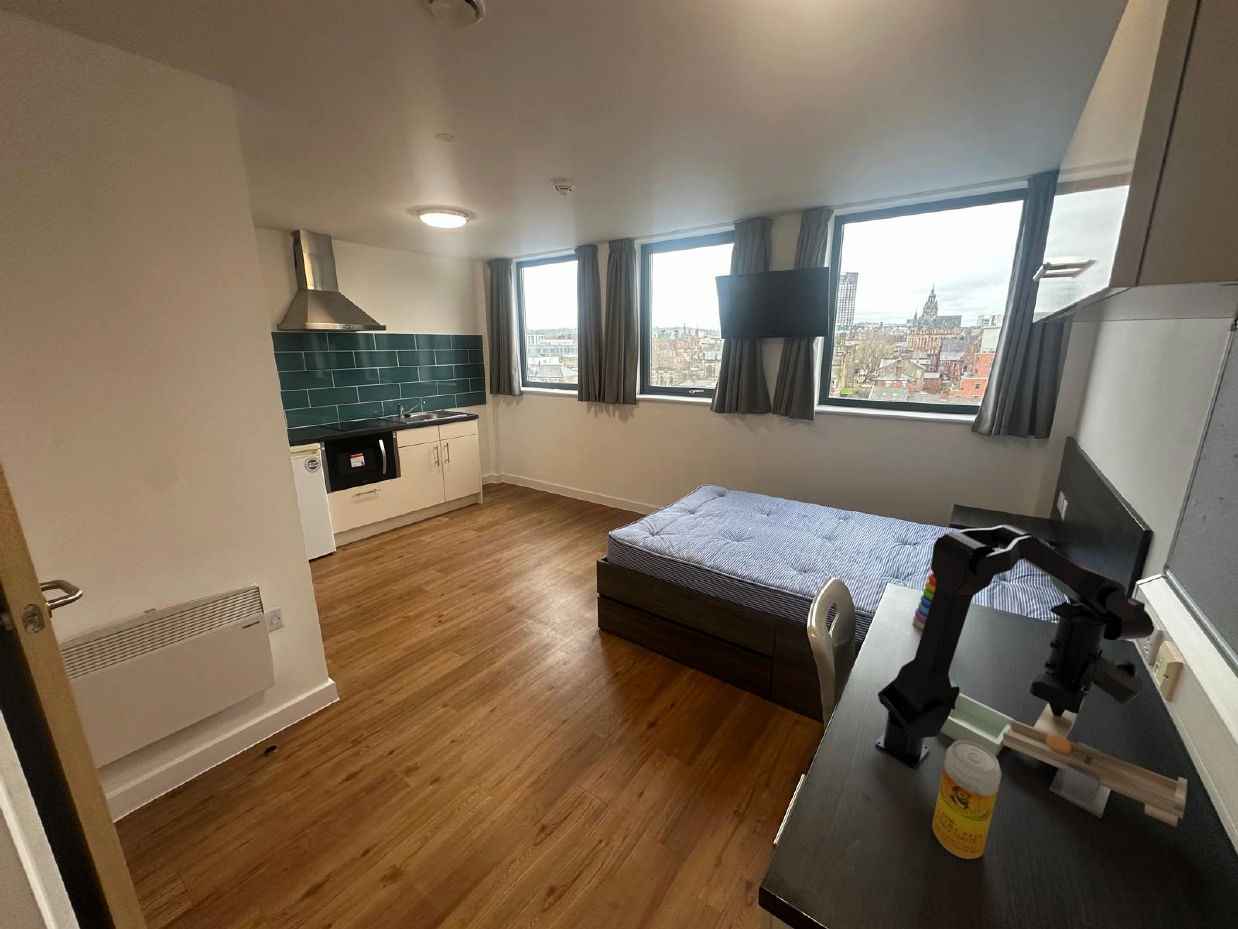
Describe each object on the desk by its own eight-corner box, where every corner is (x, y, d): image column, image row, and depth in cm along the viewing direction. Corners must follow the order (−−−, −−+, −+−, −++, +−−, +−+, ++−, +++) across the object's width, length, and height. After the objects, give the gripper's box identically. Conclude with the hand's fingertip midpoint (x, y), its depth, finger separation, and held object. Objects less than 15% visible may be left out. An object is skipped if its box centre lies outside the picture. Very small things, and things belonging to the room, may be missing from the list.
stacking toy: (949, 640, 115) (962, 569, 110) (910, 628, 120) (922, 559, 115) (951, 625, 121) (964, 557, 116) (914, 614, 126) (925, 548, 121)
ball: (1073, 754, 76) (1054, 736, 77) (1057, 761, 77) (1038, 743, 79) (1078, 745, 77) (1059, 727, 79) (1061, 751, 79) (1044, 734, 81)
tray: (993, 761, 82) (997, 744, 81) (935, 728, 89) (938, 712, 88) (1010, 735, 87) (1014, 719, 86) (953, 706, 94) (956, 691, 93)
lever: (1181, 830, 66) (1183, 801, 66) (1002, 754, 82) (1002, 729, 82) (1192, 766, 76) (1194, 740, 76) (1030, 709, 92) (1031, 687, 92)
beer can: (926, 840, 69) (943, 755, 65) (937, 812, 73) (953, 731, 69) (977, 873, 65) (998, 784, 61) (986, 841, 69) (1006, 755, 65)
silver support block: (1100, 818, 72) (1110, 788, 71) (1049, 789, 77) (1056, 761, 75) (1111, 788, 77) (1119, 760, 75) (1061, 763, 81) (1069, 736, 80)
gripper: (1135, 688, 71) (1109, 773, 75) (1153, 641, 82) (1129, 717, 86) (1039, 651, 80) (1019, 729, 83) (1067, 613, 90) (1048, 683, 94)
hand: (1056, 714), depth 87 cm, fingers closed, pressing on lever
